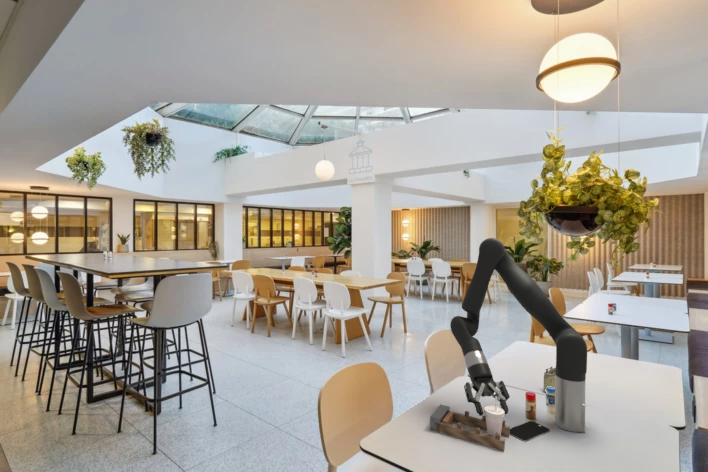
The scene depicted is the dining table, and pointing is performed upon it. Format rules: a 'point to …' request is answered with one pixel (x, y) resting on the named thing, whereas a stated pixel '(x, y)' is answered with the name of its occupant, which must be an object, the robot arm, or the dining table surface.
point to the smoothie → (494, 419)
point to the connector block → (438, 416)
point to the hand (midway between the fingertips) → (493, 414)
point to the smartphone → (528, 431)
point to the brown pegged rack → (472, 435)
